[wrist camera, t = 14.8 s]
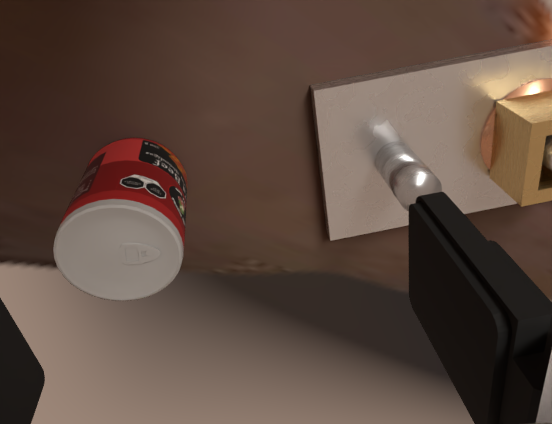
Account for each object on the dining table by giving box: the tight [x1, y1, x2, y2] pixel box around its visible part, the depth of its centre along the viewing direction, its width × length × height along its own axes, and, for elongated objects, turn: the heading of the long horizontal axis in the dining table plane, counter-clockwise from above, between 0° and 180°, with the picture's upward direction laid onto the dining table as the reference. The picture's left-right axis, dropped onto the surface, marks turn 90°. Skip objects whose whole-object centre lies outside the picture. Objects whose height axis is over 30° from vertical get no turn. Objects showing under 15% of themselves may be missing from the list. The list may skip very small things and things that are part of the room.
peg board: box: [310, 39, 552, 241], centre depth 39 cm, size 14×24×8 cm, turn 99°
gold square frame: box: [489, 90, 552, 207], centre depth 39 cm, size 7×7×5 cm
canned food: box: [53, 138, 187, 301], centre depth 36 cm, size 8×8×11 cm
